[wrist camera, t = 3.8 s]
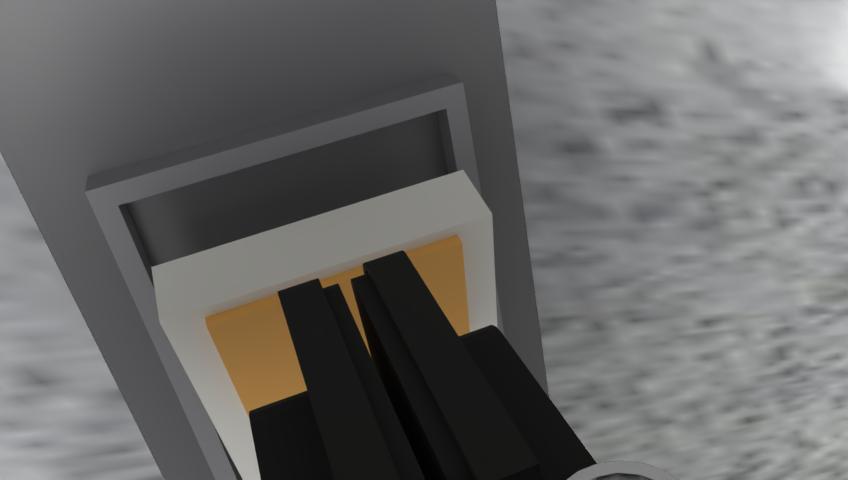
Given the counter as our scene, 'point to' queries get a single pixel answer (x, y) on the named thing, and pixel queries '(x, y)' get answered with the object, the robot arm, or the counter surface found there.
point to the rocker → (332, 263)
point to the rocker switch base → (242, 153)
